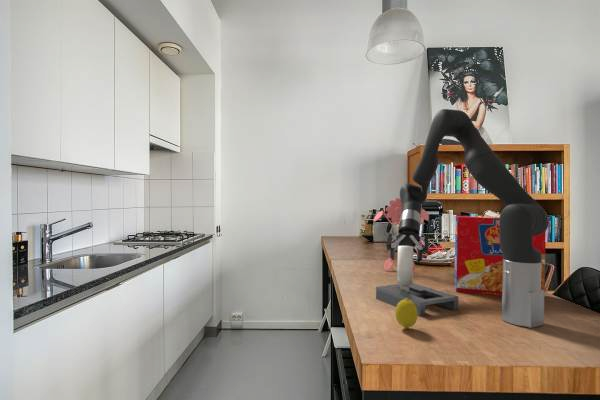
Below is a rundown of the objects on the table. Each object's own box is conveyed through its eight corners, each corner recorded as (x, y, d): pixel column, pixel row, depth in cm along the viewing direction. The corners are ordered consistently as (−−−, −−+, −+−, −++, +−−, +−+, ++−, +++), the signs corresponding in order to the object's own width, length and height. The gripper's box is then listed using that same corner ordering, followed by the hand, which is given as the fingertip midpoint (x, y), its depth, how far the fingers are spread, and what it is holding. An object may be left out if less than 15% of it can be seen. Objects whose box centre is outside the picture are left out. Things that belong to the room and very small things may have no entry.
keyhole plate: (458, 309, 110) (458, 296, 110) (420, 316, 103) (420, 302, 103) (411, 293, 128) (411, 282, 128) (376, 298, 121) (376, 286, 121)
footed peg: (417, 301, 119) (418, 247, 119) (404, 303, 116) (405, 248, 116) (404, 296, 124) (405, 245, 124) (391, 298, 122) (392, 245, 122)
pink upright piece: (375, 267, 177) (376, 197, 177) (429, 273, 165) (431, 198, 164) (365, 273, 164) (367, 197, 163) (424, 280, 152) (426, 198, 151)
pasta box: (456, 292, 132) (457, 216, 132) (454, 287, 139) (455, 216, 139) (544, 300, 123) (545, 219, 123) (537, 294, 131) (538, 218, 131)
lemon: (400, 323, 97) (401, 294, 97) (420, 328, 93) (421, 298, 93) (391, 329, 93) (392, 298, 93) (412, 334, 89) (412, 302, 89)
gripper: (389, 216, 133) (383, 251, 122) (429, 218, 127) (427, 254, 117) (391, 230, 138) (385, 264, 127) (430, 232, 132) (427, 268, 122)
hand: (405, 259), depth 122 cm, fingers open, 8 cm apart
